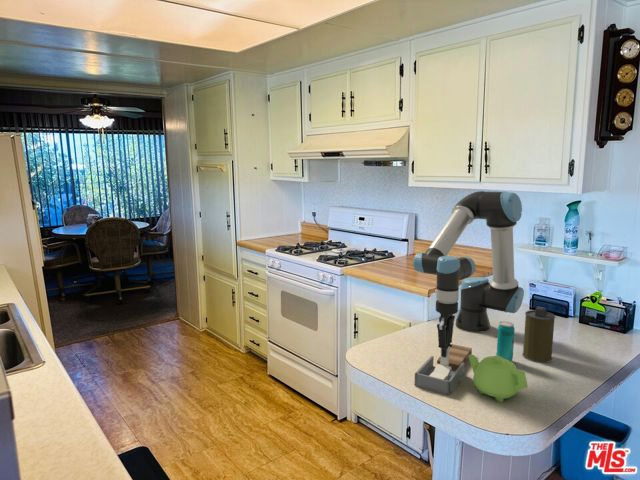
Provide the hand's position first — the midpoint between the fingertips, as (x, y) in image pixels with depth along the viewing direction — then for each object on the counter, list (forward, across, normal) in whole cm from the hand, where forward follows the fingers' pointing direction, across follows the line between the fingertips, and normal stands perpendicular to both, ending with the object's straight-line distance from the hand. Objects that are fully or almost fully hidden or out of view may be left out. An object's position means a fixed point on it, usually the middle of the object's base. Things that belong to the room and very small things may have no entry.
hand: (444, 364), depth 159 cm
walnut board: (+4, -13, 0) cm, 13 cm away
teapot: (+4, +4, +18) cm, 19 cm away
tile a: (+3, +3, 0) cm, 4 cm away
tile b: (+1, +8, 0) cm, 8 cm away
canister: (+4, -34, +26) cm, 43 cm away
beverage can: (+4, -23, +16) cm, 28 cm away
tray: (+4, +5, 0) cm, 6 cm away
